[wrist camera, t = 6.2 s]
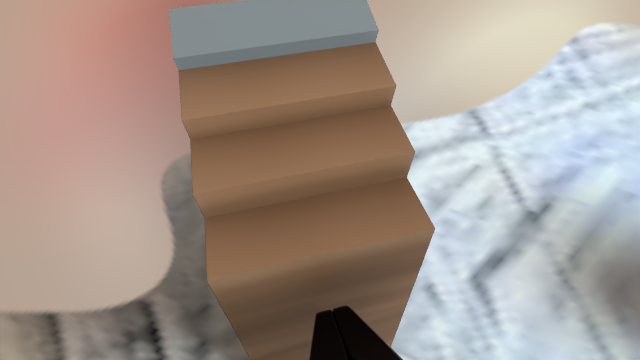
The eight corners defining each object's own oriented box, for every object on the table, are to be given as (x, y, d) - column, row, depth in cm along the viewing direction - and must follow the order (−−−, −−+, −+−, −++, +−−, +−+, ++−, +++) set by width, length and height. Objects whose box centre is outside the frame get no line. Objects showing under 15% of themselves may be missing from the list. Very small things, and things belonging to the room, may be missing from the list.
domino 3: (352, 239, 17) (396, 85, 9) (247, 263, 16) (182, 120, 8) (343, 210, 18) (375, 42, 9) (243, 231, 17) (178, 70, 9)
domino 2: (367, 295, 16) (415, 151, 8) (258, 323, 16) (192, 194, 8) (357, 263, 17) (390, 105, 9) (253, 288, 17) (190, 139, 8)
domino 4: (338, 185, 18) (378, 29, 9) (238, 205, 17) (173, 58, 8) (330, 158, 19) (361, -15, 10) (234, 176, 18) (168, 9, 9)
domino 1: (385, 361, 15) (435, 228, 8) (269, 394, 15) (207, 280, 7) (372, 324, 16) (406, 177, 9) (264, 353, 16) (204, 218, 8)
